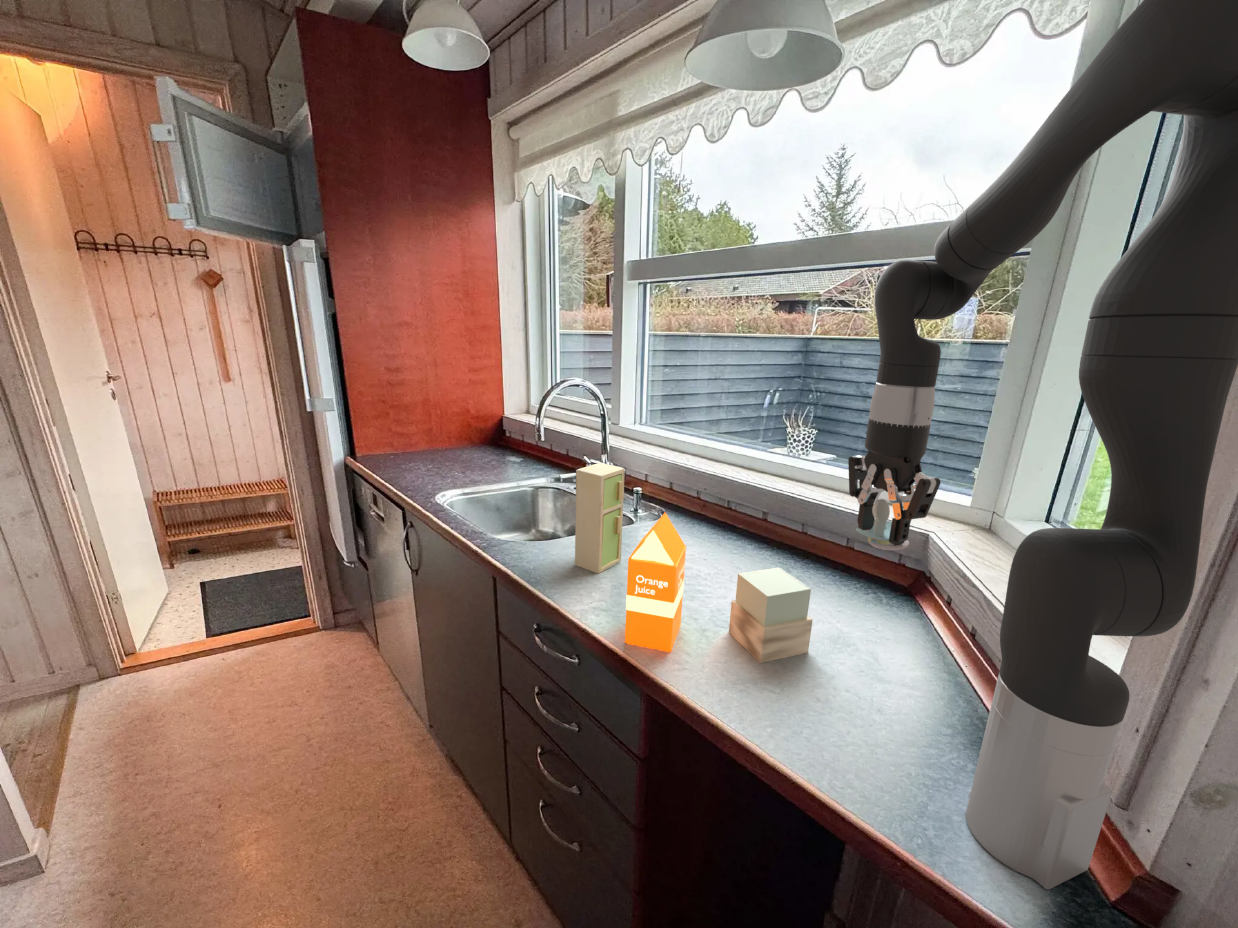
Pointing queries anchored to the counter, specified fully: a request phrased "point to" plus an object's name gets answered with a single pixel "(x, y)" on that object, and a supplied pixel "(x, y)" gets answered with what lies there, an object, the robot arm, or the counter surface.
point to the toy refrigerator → (599, 516)
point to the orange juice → (655, 588)
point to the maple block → (769, 635)
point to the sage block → (772, 596)
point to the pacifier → (881, 528)
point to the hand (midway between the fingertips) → (880, 535)
